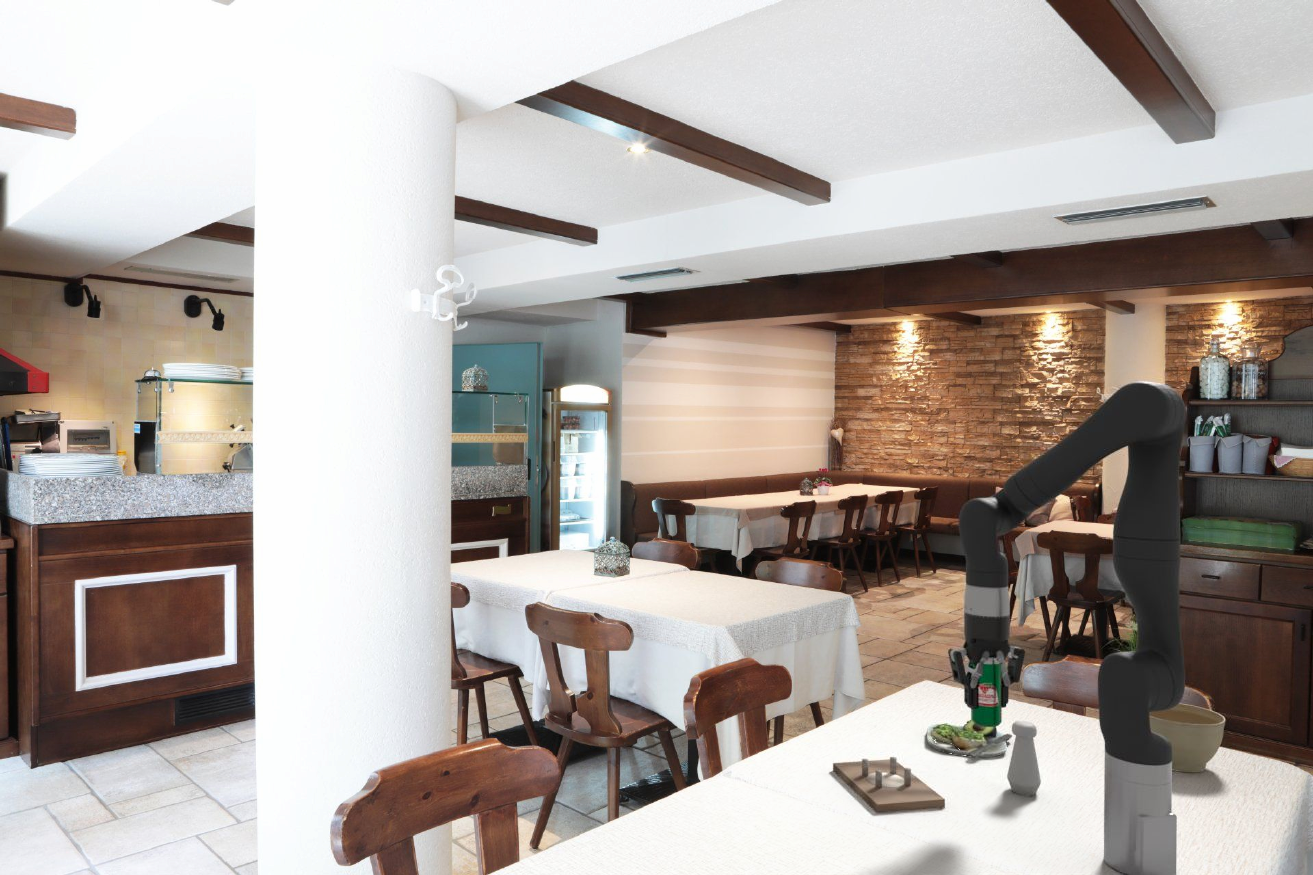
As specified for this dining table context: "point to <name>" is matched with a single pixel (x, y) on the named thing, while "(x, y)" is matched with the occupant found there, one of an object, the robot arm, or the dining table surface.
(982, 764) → the dining table surface
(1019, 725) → the salt shaker
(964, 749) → the salad plate
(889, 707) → the dining table surface
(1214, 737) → the planter bowl
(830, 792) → the dining table surface
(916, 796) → the pin board
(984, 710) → the soda can
